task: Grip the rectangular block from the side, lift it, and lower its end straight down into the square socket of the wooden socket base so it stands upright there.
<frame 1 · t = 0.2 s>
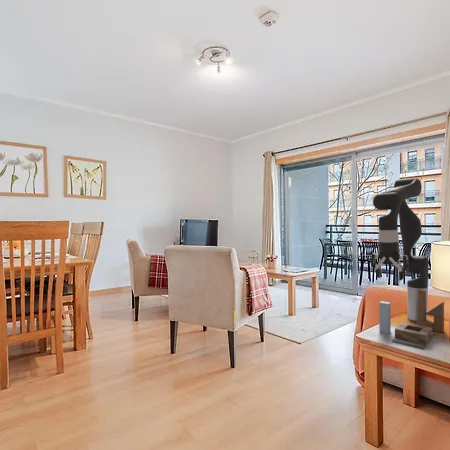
hand: (389, 278, 134), 29 cm above the table, tool pointing down, fingers open, 8 cm apart
rectangular block: (384, 331, 151), on the table
wooden socket base: (413, 338, 142), on the table
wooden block: (430, 329, 152), on the table
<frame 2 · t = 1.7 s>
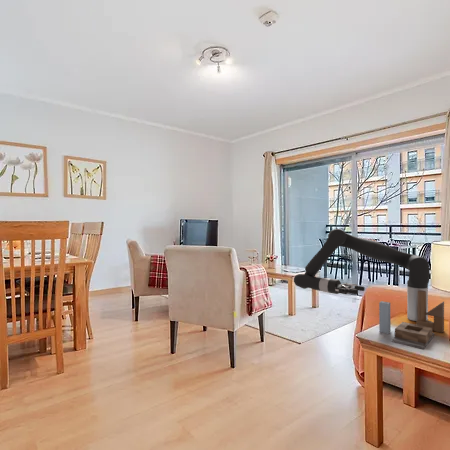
hand: (361, 290, 157), 18 cm above the table, tool horizontal, fingers open, 8 cm apart
nothing on the table moved.
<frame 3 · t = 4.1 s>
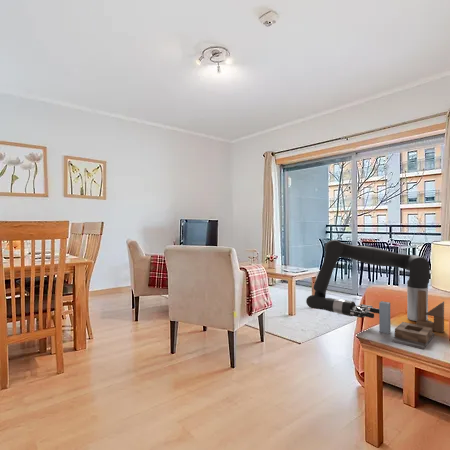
hand: (377, 313, 153), 8 cm above the table, tool horizontal, fingers open, 8 cm apart
nothing on the table moved.
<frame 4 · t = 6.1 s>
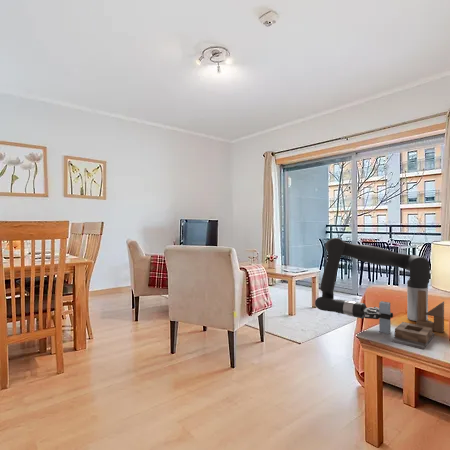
hand: (391, 316, 148), 8 cm above the table, tool horizontal, fingers closed on rectangular block, 3 cm apart
rectangular block: (384, 331, 151), on the table, touching gripper
everything else where it was.
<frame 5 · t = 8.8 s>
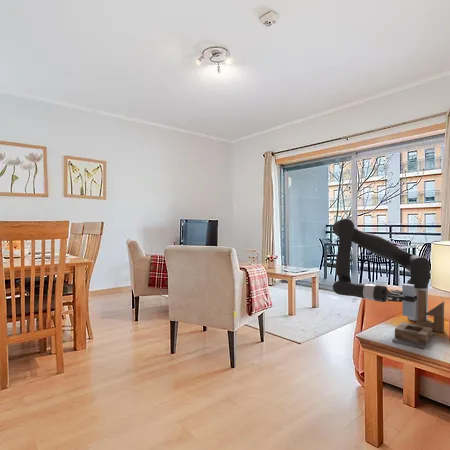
hand: (415, 298, 141), 18 cm above the table, tool horizontal, fingers closed on rectangular block, 3 cm apart
rectangular block: (408, 315, 143), point 10 cm above the table, touching gripper
everything else where it was.
when the fingers open (10 cm above the table, at t = 11.5 s): rectangular block drops 1 cm, resting on wooden socket base.
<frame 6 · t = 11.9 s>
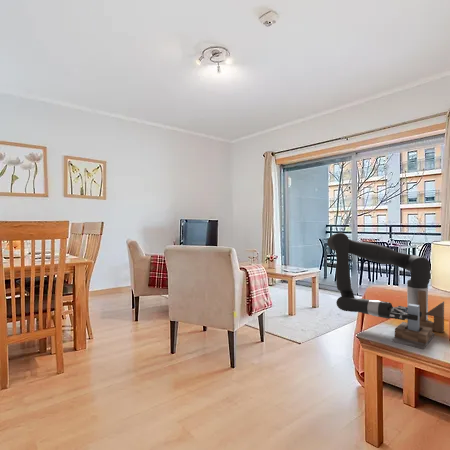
hand: (419, 316, 140), 10 cm above the table, tool horizontal, fingers open, 6 cm apart
rectangular block: (413, 336, 142), point 1 cm above the table, touching wooden socket base
everything else where it was.
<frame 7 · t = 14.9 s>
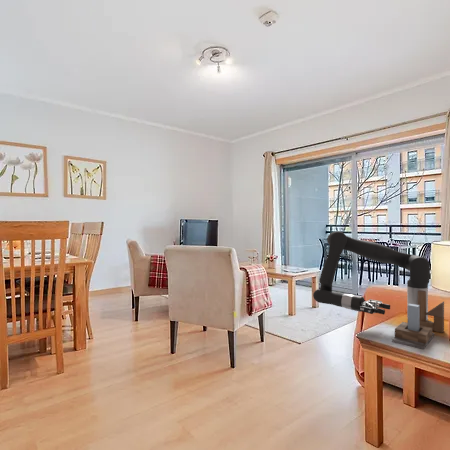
hand: (387, 309, 150), 11 cm above the table, tool horizontal, fingers open, 8 cm apart
nothing on the table moved.
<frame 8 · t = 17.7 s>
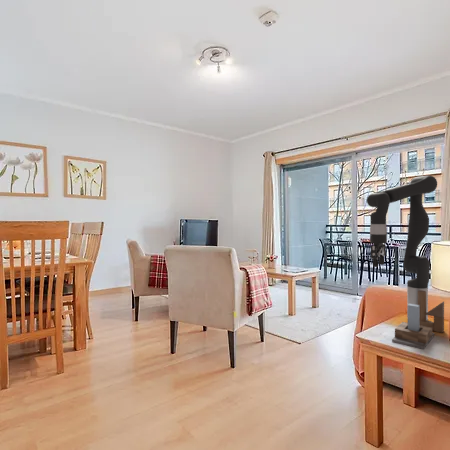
hand: (378, 265, 158), 30 cm above the table, tool pointing down, fingers open, 8 cm apart
nothing on the table moved.
at the end: rectangular block 0.0 cm off-centre on the wooden socket base, point 1.0 cm above the wooden socket base's base; rectangular block tilted 0°; the gripper is holding nothing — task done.
